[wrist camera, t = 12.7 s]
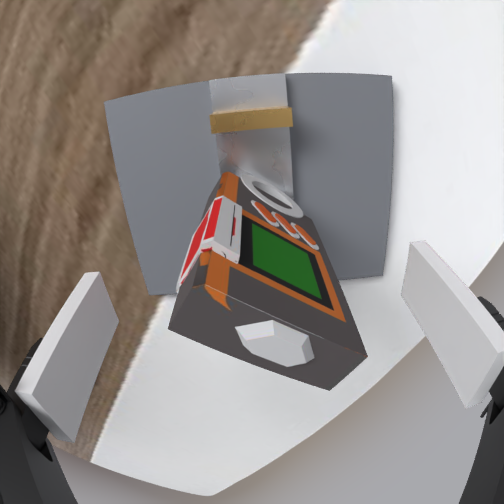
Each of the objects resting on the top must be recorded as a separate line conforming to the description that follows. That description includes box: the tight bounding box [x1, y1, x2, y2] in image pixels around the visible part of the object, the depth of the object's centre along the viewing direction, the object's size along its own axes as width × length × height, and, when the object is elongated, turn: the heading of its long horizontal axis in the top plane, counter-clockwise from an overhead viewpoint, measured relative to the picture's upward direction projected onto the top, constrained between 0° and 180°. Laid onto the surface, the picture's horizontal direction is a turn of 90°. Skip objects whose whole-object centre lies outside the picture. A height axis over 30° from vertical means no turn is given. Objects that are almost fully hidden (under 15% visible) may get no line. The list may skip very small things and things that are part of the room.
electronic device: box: [168, 171, 368, 391], centre depth 16 cm, size 7×3×15 cm, turn 59°
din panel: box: [104, 73, 393, 295], centre depth 24 cm, size 21×17×1 cm
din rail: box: [209, 73, 294, 201], centre depth 22 cm, size 5×17×3 cm, turn 5°
